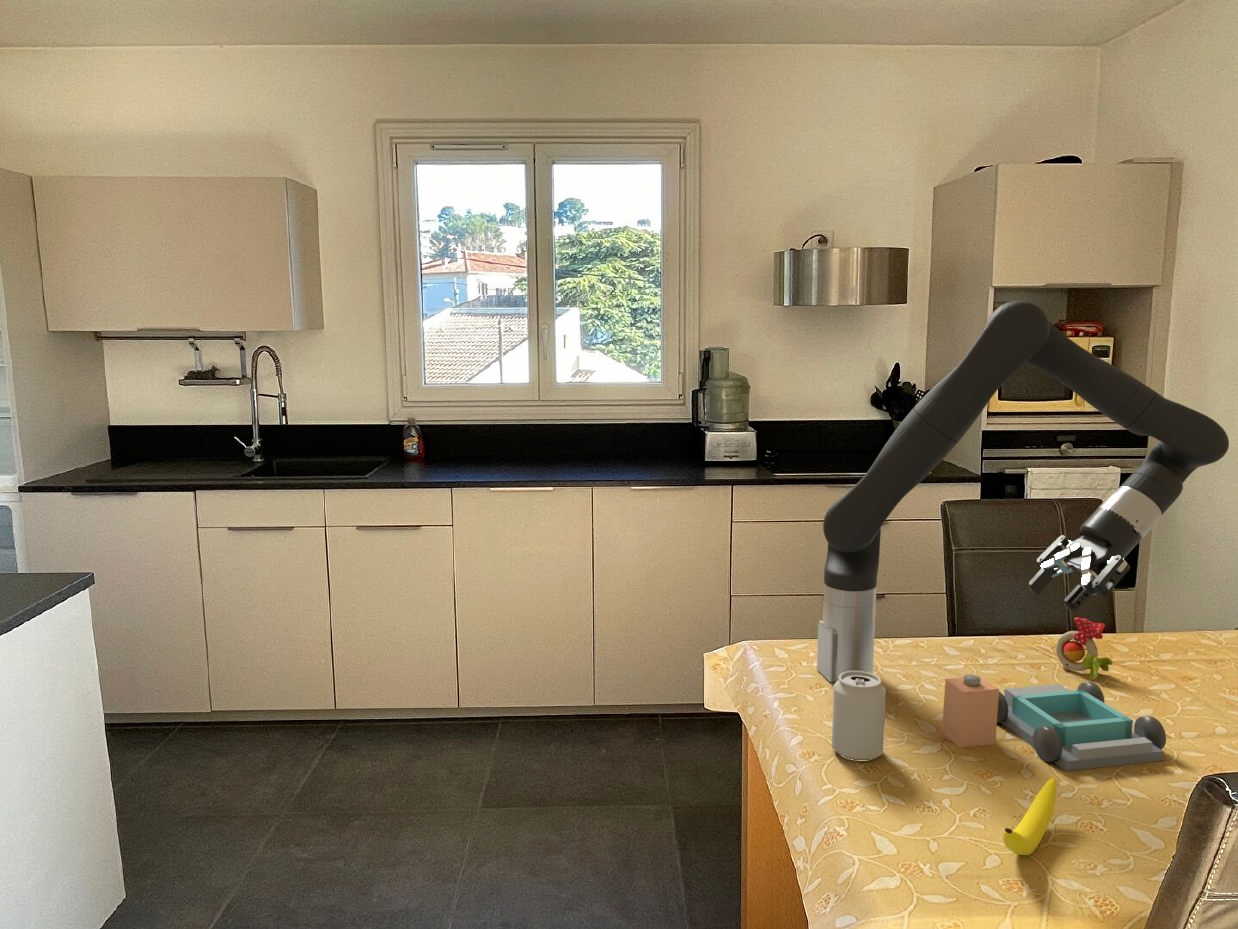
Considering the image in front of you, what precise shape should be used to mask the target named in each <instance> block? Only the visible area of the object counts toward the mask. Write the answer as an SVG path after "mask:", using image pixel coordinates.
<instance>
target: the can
mask: <svg viewBox="0 0 1238 929" xmlns="http://www.w3.org/2000/svg"><path fill="white" fill-rule="evenodd" d="M838 678H839V680H838V681H837V682H834V684H833V700H832V726H831V729H832V730H831V746H832V749H833V750H834V751H835V752H836V753H837V754H838V753H839V754H840V755H842V756H844V757H846V758H849V759H853V760H871V759H874V758H875V759H876V758H878V757H879V756H880V755H882V753H883V752H884V739H885V737H884V736H885V735H884V734H885V719H886V718H885V715H886V714H885V713H886V697H887V696H886V695H887V694H886V693H887V691H886V688H885V687H884V686H883V684H882V682H883V681H882V679H881V678H880V677H879V675H877V674H874V673H873V674H872V673H869V672H864V671H847V672H843V673H841V674H840V675H839V676H838ZM839 754H838V755H839ZM840 755H839V756H840ZM875 759H874V760H875Z"/></svg>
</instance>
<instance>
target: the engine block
mask: <svg viewBox="0 0 1238 929" xmlns="http://www.w3.org/2000/svg"><path fill="white" fill-rule="evenodd" d="M944 680H945V681H944V697H943V715H942V716H943V717H942V729H941V730H942V732H941V733H942V734H943V735H944V736H945V737H947V738H948V739H949V740H950V741H951V742H952V743H954V744H955V745H956V746H957V747H958V748H968V747H977V746H979V747H981V746H988V745H996V740H997V712H998V698H999V691H1000V689H999V687H997V686H996V685H994V684H993V683H991V682H990V681H989V680H987V679H985V678H984V677H983V676H981V675H975V674H964V675H963V677H952V678H945V679H944Z"/></svg>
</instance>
